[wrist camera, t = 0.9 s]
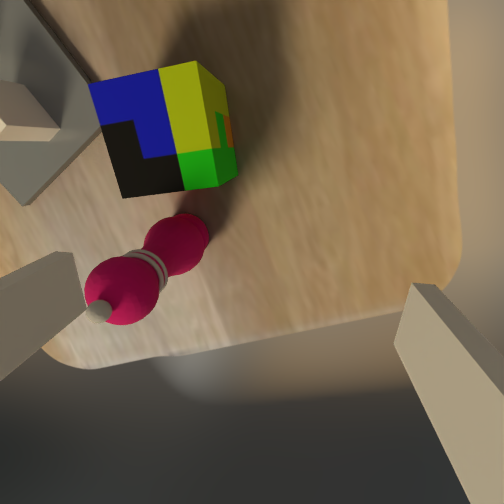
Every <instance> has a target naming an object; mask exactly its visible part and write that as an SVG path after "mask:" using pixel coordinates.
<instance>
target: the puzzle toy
mask: <svg viewBox="0 0 504 504" xmlns="http://www.w3.org/2000/svg"><path fill="white" fill-rule="evenodd" d="M88 87H89V91H90V94H91V97H92V100H93V104H94V107H95V110H96V114H97V117H98V120H99V123H100V127H101V130H102V133H103V136H104V140H105V143H106V146H107V149H108V153H109V156H110V159H111V163H112V166H113V169H114V172H115V176H116V179H117V182H118V185H119V189H120V192H121V195H122V199H124V198H131V197H139V196H147V195H155V194H163V193H171V192H179V191H186V190H194V189H202V188H210V187H218V186H220V185H222V184H224V183H225V182H227V181H229V180H231V179H232V178H234V177H236V176H238V170H237V164H236V157H235V150H234V144H233V137H232V131H231V124H230V117H229V111H228V104H227V98H226V91H225V85H224V84H223V83H222V82H220V81H219V80H218V79H217V78H216V77H215V76H213V75H212V74H211V73H210V72H209V71H208V70H206V69H205V68H204V67H203V66H202V65H201V64H200V63H198V62H197V61H192V62H187V63H182V64H178V65H173V66H169V67H164V68H159V69H155V70H150V71H146V72H141V73H136V74H132V75H127V76H123V77H118V78H113V79H109V80H104V81H100V82H95V83H90V84H88Z"/></svg>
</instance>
